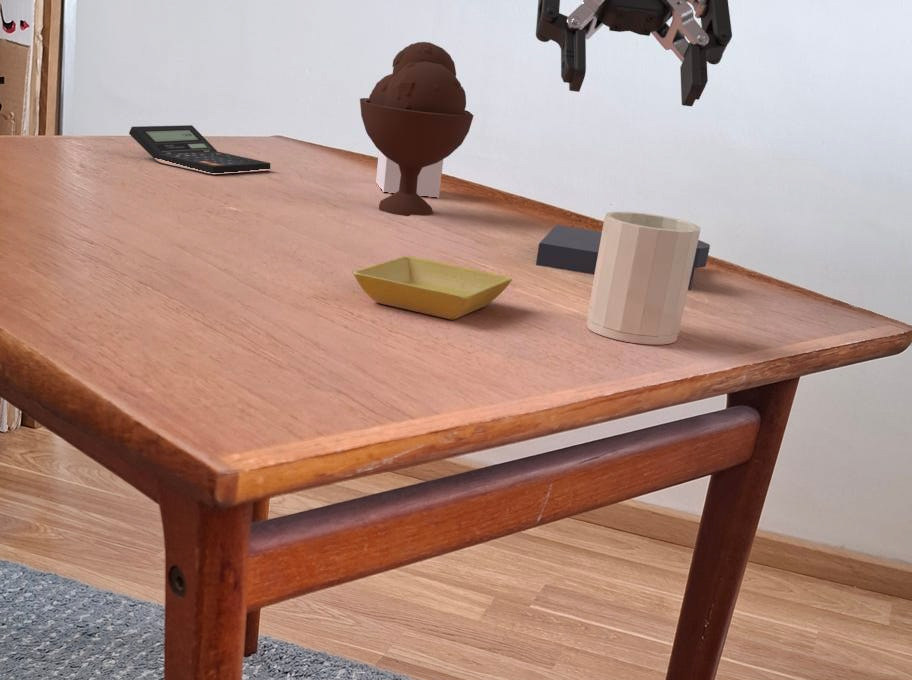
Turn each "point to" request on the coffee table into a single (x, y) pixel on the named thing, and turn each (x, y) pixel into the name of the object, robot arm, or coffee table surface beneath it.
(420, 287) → the yellow shallow tray
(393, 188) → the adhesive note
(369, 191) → the coffee table surface
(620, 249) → the faceted pencil cup
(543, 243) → the scale
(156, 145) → the calculator
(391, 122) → the ice cream bowl
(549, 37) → the robot arm
